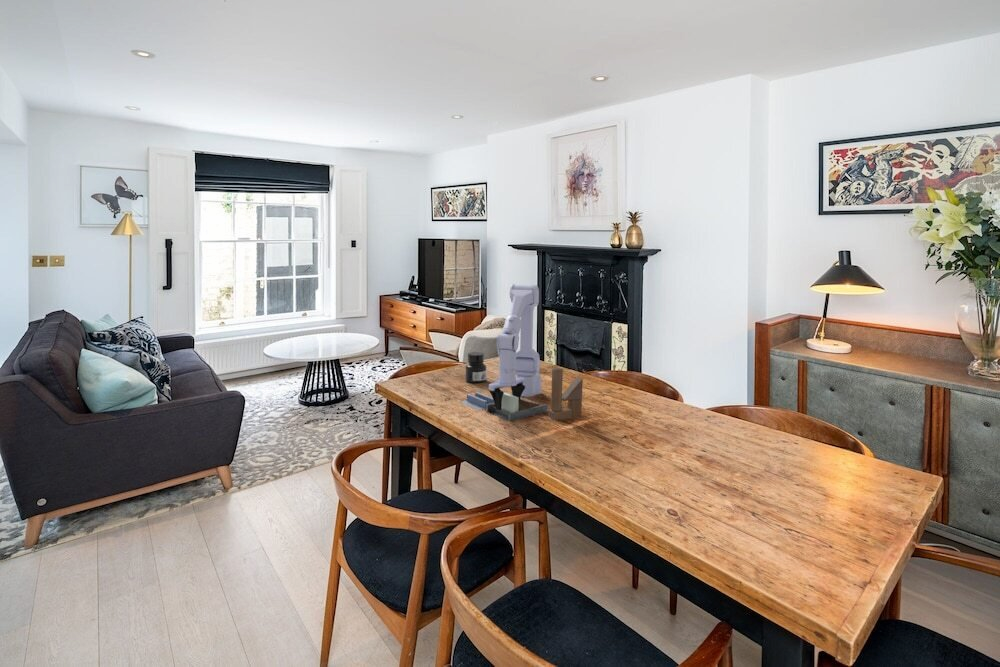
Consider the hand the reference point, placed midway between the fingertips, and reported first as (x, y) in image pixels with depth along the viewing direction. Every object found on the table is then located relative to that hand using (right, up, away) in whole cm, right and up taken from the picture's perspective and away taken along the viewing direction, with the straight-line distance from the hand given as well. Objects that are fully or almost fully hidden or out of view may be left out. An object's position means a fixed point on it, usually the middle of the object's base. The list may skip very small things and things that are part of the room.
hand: (507, 407), depth 182 cm
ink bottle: (-13, +5, +46) cm, 48 cm away
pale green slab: (0, -2, 0) cm, 2 cm away
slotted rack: (+4, -3, +3) cm, 6 cm away
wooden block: (+20, -4, -1) cm, 20 cm away
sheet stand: (-9, -1, +12) cm, 15 cm away
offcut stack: (+7, -1, +6) cm, 9 cm away
